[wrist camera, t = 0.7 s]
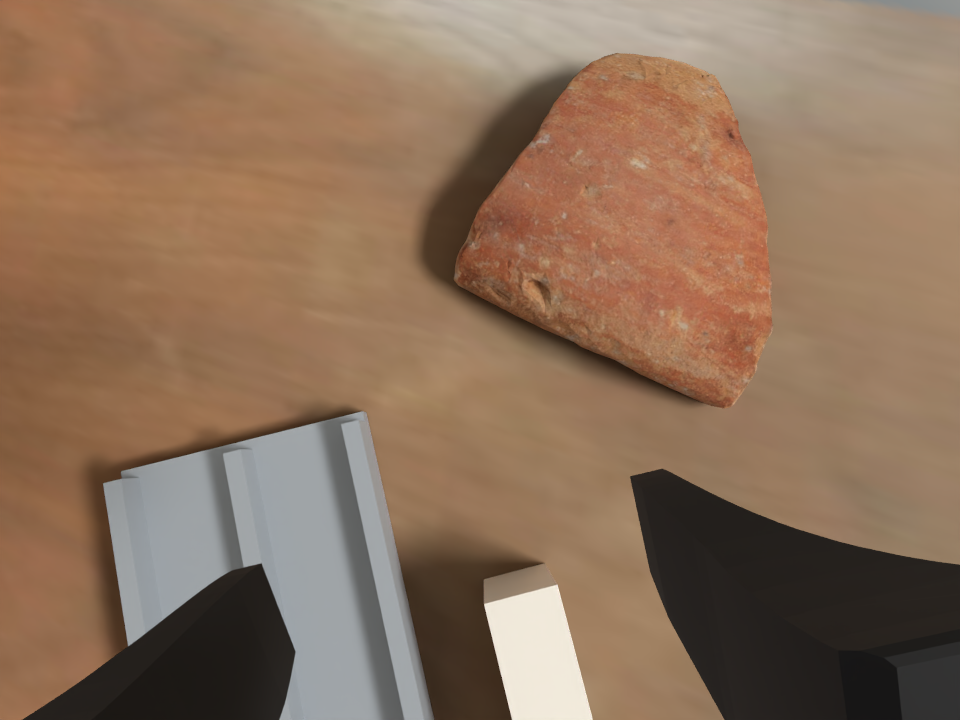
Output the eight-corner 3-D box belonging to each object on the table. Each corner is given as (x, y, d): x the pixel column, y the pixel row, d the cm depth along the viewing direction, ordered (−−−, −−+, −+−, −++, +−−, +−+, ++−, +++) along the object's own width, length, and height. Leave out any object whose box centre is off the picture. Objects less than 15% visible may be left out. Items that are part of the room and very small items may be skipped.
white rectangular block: (602, 785, 28) (628, 856, 23) (538, 803, 28) (550, 877, 23) (544, 562, 30) (557, 584, 25) (483, 578, 29) (484, 603, 24)
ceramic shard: (895, 119, 27) (741, 423, 28) (810, 160, 34) (686, 407, 34) (600, -43, 26) (443, 272, 27) (571, 31, 33) (444, 285, 33)
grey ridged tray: (442, 756, 28) (438, 785, 26) (189, 824, 28) (161, 859, 25) (366, 413, 30) (355, 409, 28) (132, 470, 30) (101, 472, 28)
